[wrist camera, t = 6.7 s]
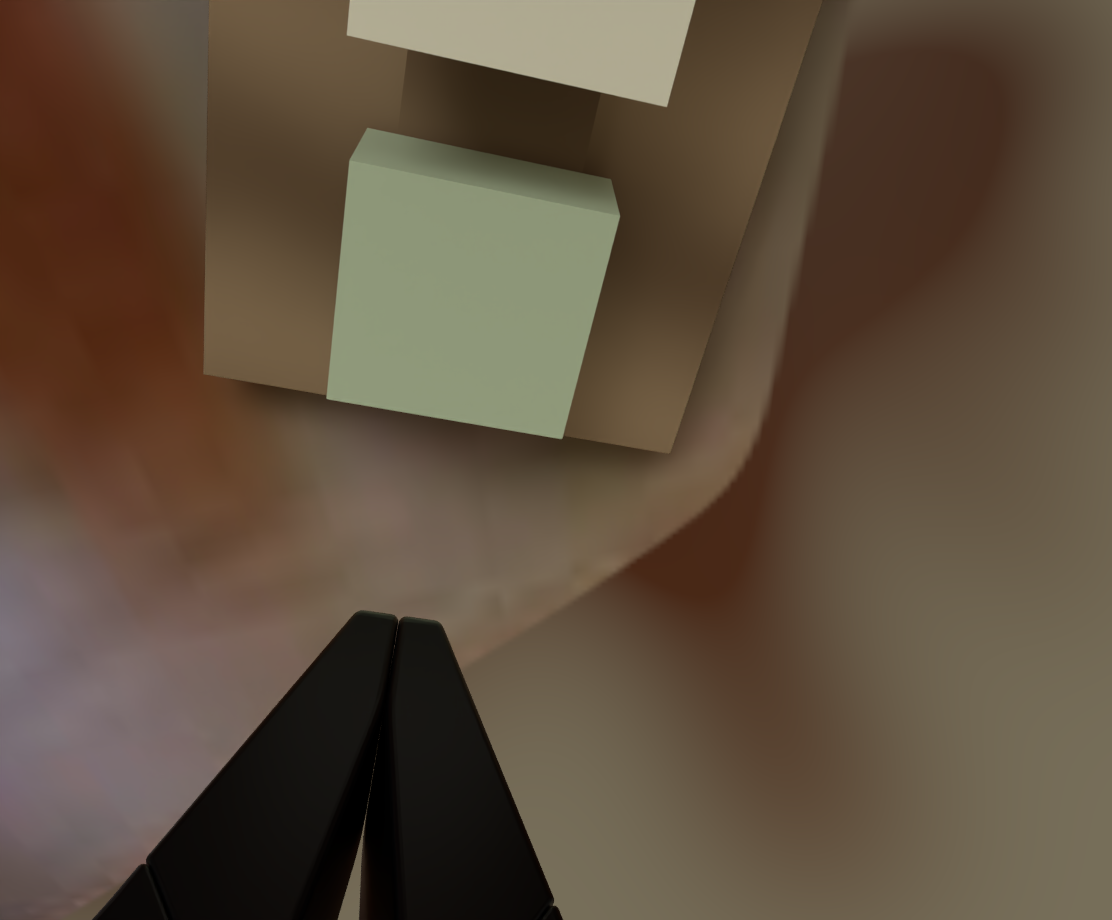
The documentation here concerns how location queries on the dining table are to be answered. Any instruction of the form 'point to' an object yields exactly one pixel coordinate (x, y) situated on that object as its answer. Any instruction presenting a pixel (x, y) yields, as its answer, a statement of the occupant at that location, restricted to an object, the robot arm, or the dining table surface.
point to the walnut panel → (501, 129)
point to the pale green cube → (467, 283)
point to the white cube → (543, 38)
